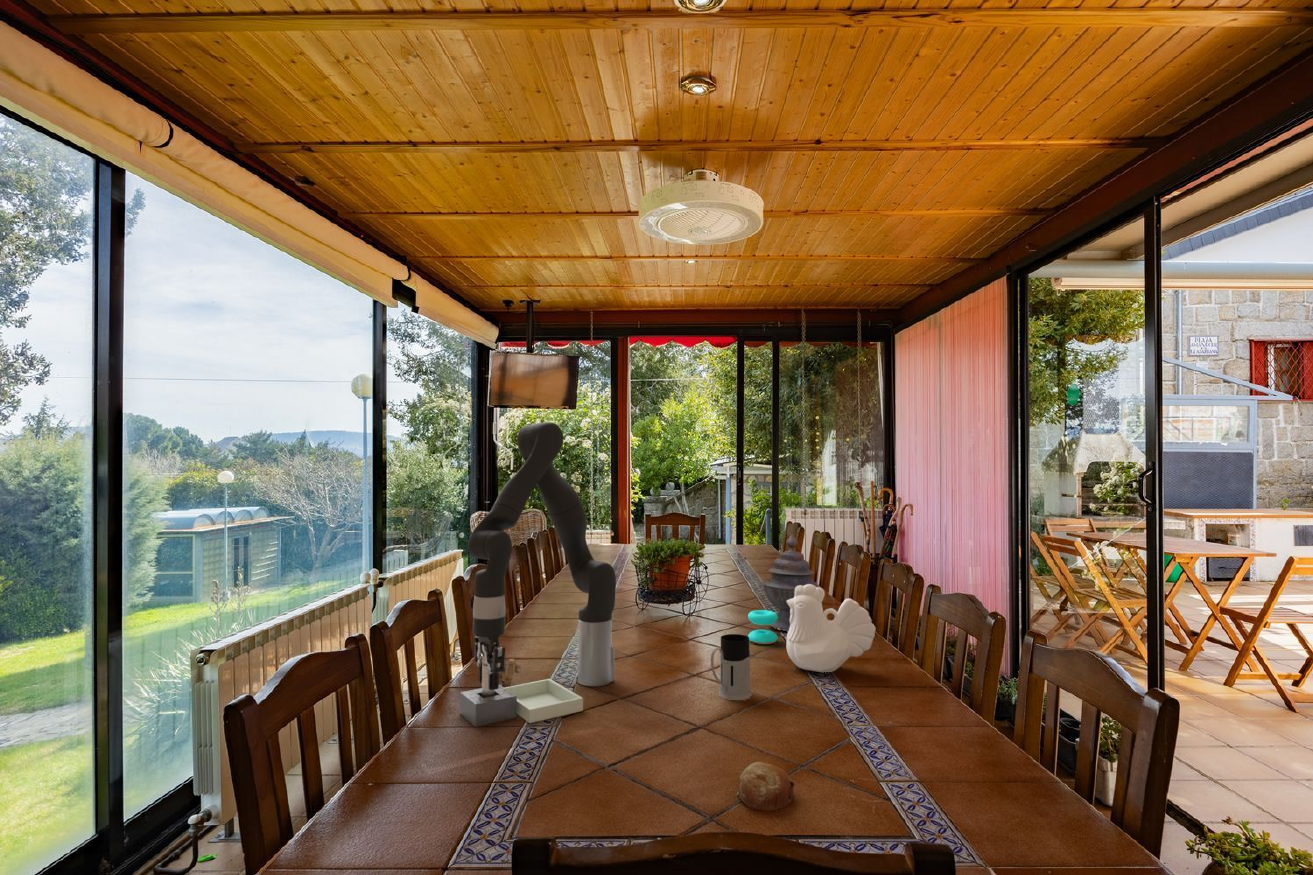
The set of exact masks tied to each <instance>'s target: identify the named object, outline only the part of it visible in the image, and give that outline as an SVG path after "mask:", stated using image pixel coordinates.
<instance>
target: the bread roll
mask: <svg viewBox="0 0 1313 875" xmlns="http://www.w3.org/2000/svg"><path fill="white" fill-rule="evenodd" d="M738 784H739V786H738V790H737V793H736V796H738V797H739V799H740V800H741V802H743V803H744V804H745V806H747V807H748V808H750V809H753V808H754V809H753V810H757V811H758V810H759V811H764V812H765V811H766V812H767V811H768V812H769V811H775V810H779V809H778V808H780V809H784V808H786V807H787V806H789V805H790V804H789V803H791V802H792V801H793V798H794V786H795V783H794V781H793V780H792V779H791V778H790V775H788V773H787V772H786V771H785V770H784V769H782V768H781V767H779V766H776V765H774V764H771V763H766V762H762V761H756V762H752V763H751V764H749V765H747V767H746V768H745V769H744V770H743V771H742V773H741V774H740V775H739V781H738Z"/></svg>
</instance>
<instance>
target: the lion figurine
mask: <svg viewBox="0 0 1313 875" xmlns="http://www.w3.org/2000/svg"><path fill="white" fill-rule="evenodd" d="M521 669H522V666H520V665H519V664H518V663H517V662H516V659H514V658H508V659H505V660H504V671H503V672H500V673H499V685H501V686H503V685H504V684H503V683H507V684H506V687H510V686H512V685H511V683H512V681H513V679H514V678H515V676H516V675H520V671H521ZM503 687H504V686H503Z"/></svg>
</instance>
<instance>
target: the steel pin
mask: <svg viewBox="0 0 1313 875" xmlns="http://www.w3.org/2000/svg"><path fill="white" fill-rule="evenodd" d="M490 660H493V658H492V659H490ZM481 688H482V698H487V697H492V696H495V690H490V689H489V670H488V665H487V664H486V663H485V657H484V656H482V683H481Z"/></svg>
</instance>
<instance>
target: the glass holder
mask: <svg viewBox="0 0 1313 875" xmlns="http://www.w3.org/2000/svg"><path fill="white" fill-rule="evenodd" d="M718 650H719V653H720V657H719V678H718V676H717V674H716V670H715V667H714V666H715V665H714V662H715V661H714V660H715V659H714V656H715V653H716V652H717V651H718ZM710 667H711V672H712V675H713V677H714V679H715V680H716V681H717V683H719V692H718V693H719V695H718V697H719V696H721V697H723V698H726V699H730V700H742V699H747V698H749V697H750V696H752V697H753V694H752V693H751V651H750V641H749V637H748V635H744V634H738V633H729V634H728V633H727V634H724V635H721V636H720V647H715V648H714V649H713V650H712V652H711V655H710ZM730 700H729V701H730Z"/></svg>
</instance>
